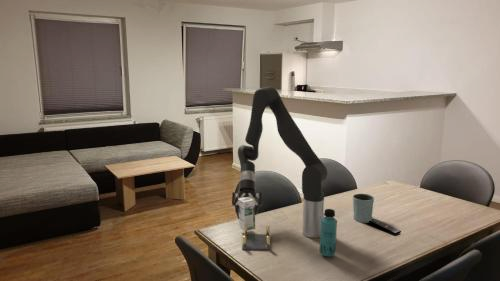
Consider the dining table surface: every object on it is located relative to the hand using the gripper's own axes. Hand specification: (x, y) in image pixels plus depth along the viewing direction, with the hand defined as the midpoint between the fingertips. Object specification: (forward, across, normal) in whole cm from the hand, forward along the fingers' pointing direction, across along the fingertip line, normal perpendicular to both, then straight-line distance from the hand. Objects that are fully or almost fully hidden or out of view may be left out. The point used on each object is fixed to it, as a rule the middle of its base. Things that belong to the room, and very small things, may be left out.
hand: (246, 214), depth 170 cm
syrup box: (+5, 0, +6) cm, 8 cm away
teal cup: (-6, +57, +21) cm, 61 cm away
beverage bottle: (+21, +34, -6) cm, 40 cm away
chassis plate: (+13, +5, +1) cm, 14 cm away
